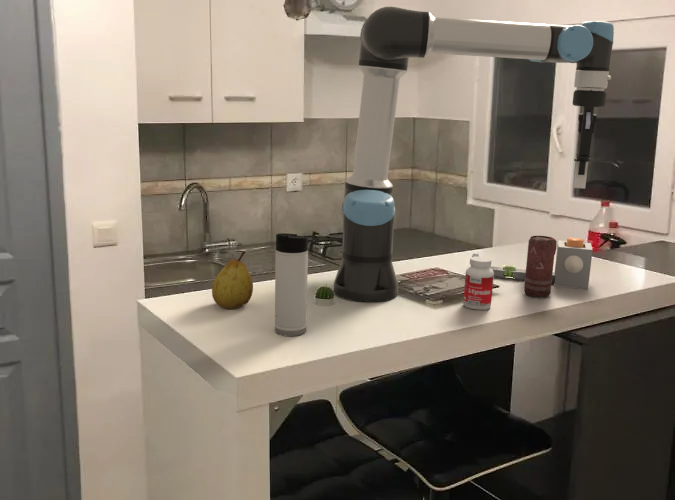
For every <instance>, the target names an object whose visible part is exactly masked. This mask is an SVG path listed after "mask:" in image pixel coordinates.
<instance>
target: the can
mask: <svg viewBox="0 0 675 500" xmlns="http://www.w3.org/2000/svg"><path fill="white" fill-rule="evenodd" d="M557 245H558V240H557V239H556V238H554V237H551V236H546V235H531V236H530V238H529V240H528V245H527V254H526V255H527V256H526V266H525V270H526V275H525V280H524V285H523V286H524V288H523V293H524V294H525V296H527V297H530V298H535V299H545V298H546V297H547V298H548V297H550V295H551V290H552V284H553V283H552V274H553V273H554V272H553V271H554V265H555V264H554V263H555V255H556V254H557Z"/></svg>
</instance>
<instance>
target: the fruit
mask: <svg viewBox="0 0 675 500" xmlns="http://www.w3.org/2000/svg"><path fill="white" fill-rule="evenodd" d="M245 254H246V252H245V251H242V252H241V255H240V256H239V257H238V259H237V258H232V259H231V260H229V261H228V262H227V263H226V264H225V265H224V266H223V268H222V269H221V271H220V272H218V274H217V275H216V277H215V278H214V280H213V283H212V287H211V295H212V300H214V302H215V304H216V305H217V306H218V307H220V308H223V309H226V310H233V309H235V310H236V309H238V308H241V307H243V306H245V305H247V304H248V303H249V301H250V300H251V298H252V295H253V292H254V284H253V283H254V282H253V279H252V276H251V274H250V272H249V269H248V268H247V265H246V264H245V263H244V262H242V261H241V259H242V258H243V256H244V255H245Z"/></svg>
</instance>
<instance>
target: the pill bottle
mask: <svg viewBox="0 0 675 500" xmlns="http://www.w3.org/2000/svg"><path fill="white" fill-rule="evenodd" d="M490 267H492V259H491V258H490V257H485V256H479V257H472V256H471V257H470V258H469V266H468V267H467V268H466V270H465V277H464V291H463V300H462V301H463V303H462V304H463V306H464V307H465V308H467V309H470V310H475V311H477V310H478V311H485V310H488V309H490V308H492V307H491V306H492V301H493V300H492V299H493V287H494V278H495V277H494V272H493V270H492V269H491V268H490Z"/></svg>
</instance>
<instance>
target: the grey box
mask: <svg viewBox="0 0 675 500" xmlns="http://www.w3.org/2000/svg"><path fill="white" fill-rule="evenodd" d="M566 244H567V240H559V239H558V240H557V246H556V253H555V257H556V258H555V264H554V265H555V266H554V273H555V281H554V283H553V284H554V287H562V288H563V287H564V288H573V289H580V288H581V290H589V283H590V276H591V274H590V273H591V267H592V260H593V259H592V257H593V247H592V243H591V242H584V243H583V248H580V247H568V246H566Z"/></svg>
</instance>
